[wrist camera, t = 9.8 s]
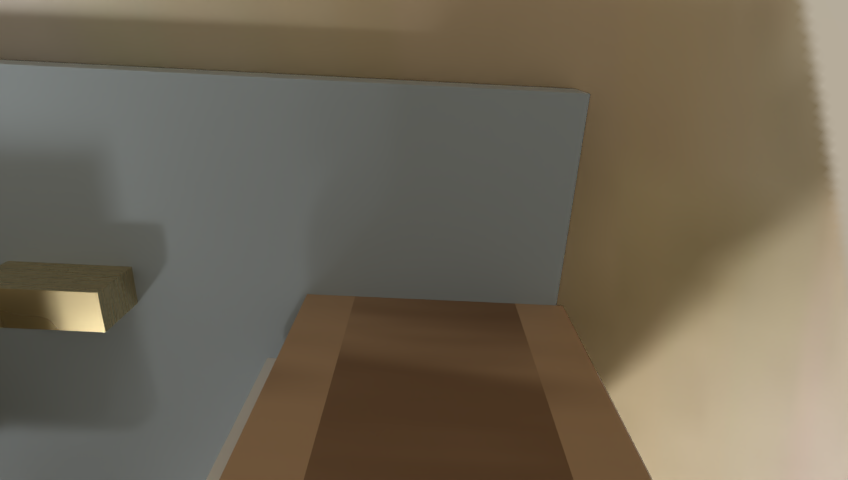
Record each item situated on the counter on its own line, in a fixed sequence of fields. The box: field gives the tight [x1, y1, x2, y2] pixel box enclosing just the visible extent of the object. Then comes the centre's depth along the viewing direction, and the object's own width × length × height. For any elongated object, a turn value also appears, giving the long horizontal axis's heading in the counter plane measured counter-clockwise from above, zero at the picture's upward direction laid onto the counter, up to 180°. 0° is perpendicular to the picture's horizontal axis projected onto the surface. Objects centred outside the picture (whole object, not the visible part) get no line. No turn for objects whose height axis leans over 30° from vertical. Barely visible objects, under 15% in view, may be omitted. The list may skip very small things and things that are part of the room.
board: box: [0, 60, 590, 480], centre depth 15 cm, size 20×21×1 cm
